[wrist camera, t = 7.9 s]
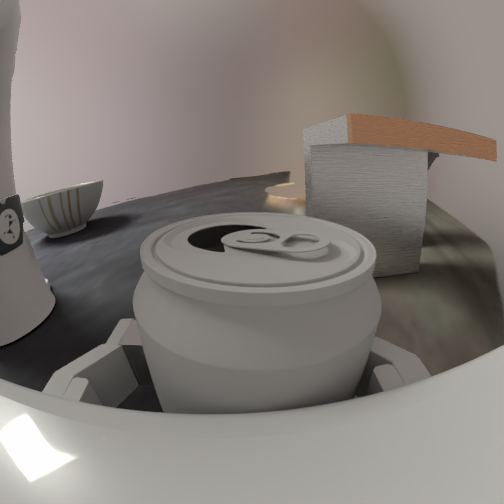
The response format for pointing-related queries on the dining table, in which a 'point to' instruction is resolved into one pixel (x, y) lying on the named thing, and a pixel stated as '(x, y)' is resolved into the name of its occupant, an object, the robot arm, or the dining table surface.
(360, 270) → the beverage can
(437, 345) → the dining table surface
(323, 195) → the wood-edged grey shelf
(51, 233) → the decorative bowl
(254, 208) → the dining table surface
